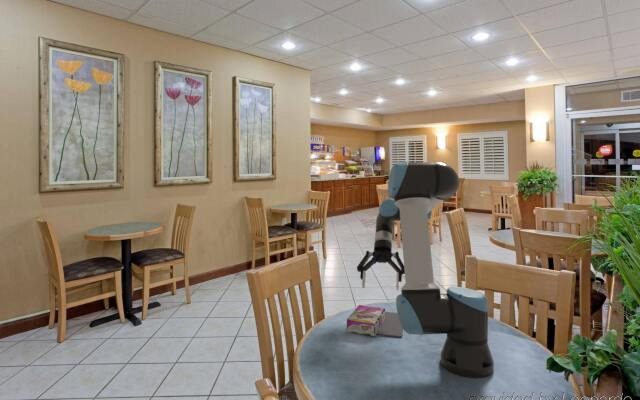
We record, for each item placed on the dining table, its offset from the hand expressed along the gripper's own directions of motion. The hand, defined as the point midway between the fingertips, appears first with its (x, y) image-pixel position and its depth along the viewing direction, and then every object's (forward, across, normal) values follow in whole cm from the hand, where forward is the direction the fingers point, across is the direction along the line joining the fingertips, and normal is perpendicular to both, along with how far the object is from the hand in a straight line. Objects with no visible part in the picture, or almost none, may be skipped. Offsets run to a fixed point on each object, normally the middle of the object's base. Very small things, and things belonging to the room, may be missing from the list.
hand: (380, 287), depth 145 cm
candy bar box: (+7, +3, -8) cm, 11 cm away
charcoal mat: (+12, -1, -7) cm, 14 cm away
